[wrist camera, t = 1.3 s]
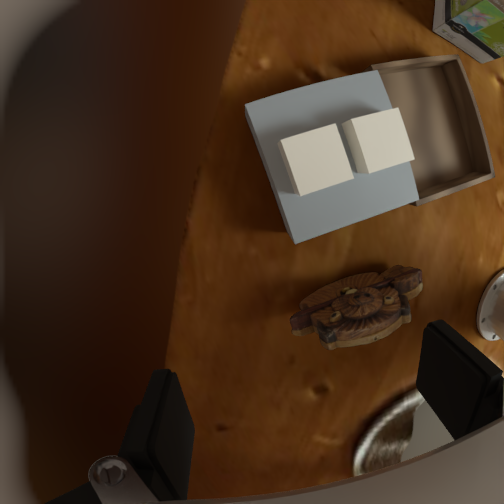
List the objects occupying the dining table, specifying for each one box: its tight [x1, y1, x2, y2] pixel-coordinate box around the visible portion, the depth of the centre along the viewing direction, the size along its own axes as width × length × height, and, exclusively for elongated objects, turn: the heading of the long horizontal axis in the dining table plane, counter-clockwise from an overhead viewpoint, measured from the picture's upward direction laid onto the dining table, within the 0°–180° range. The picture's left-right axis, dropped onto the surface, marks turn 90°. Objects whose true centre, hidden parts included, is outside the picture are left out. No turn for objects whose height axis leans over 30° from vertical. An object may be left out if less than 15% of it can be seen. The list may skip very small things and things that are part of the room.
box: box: [362, 55, 495, 206], centre depth 31 cm, size 13×16×4 cm
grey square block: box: [245, 70, 419, 244], centre depth 31 cm, size 14×14×6 cm
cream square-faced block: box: [341, 108, 415, 174], centre depth 26 cm, size 5×5×3 cm
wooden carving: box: [290, 265, 423, 350], centre depth 33 cm, size 16×5×10 cm, turn 112°
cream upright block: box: [277, 123, 354, 196], centre depth 27 cm, size 5×5×3 cm
